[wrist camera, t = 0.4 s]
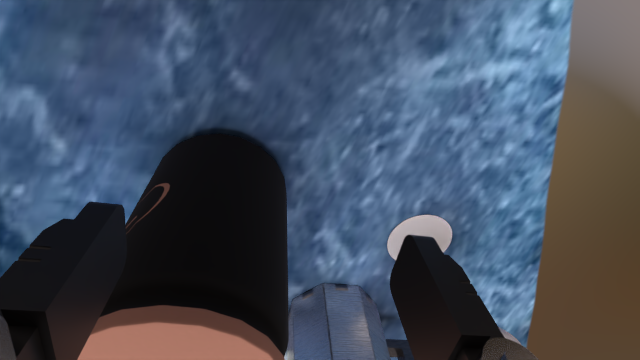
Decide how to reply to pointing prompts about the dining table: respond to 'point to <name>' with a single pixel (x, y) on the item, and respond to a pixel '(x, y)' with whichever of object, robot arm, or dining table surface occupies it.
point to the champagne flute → (430, 228)
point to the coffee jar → (202, 261)
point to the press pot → (339, 327)
